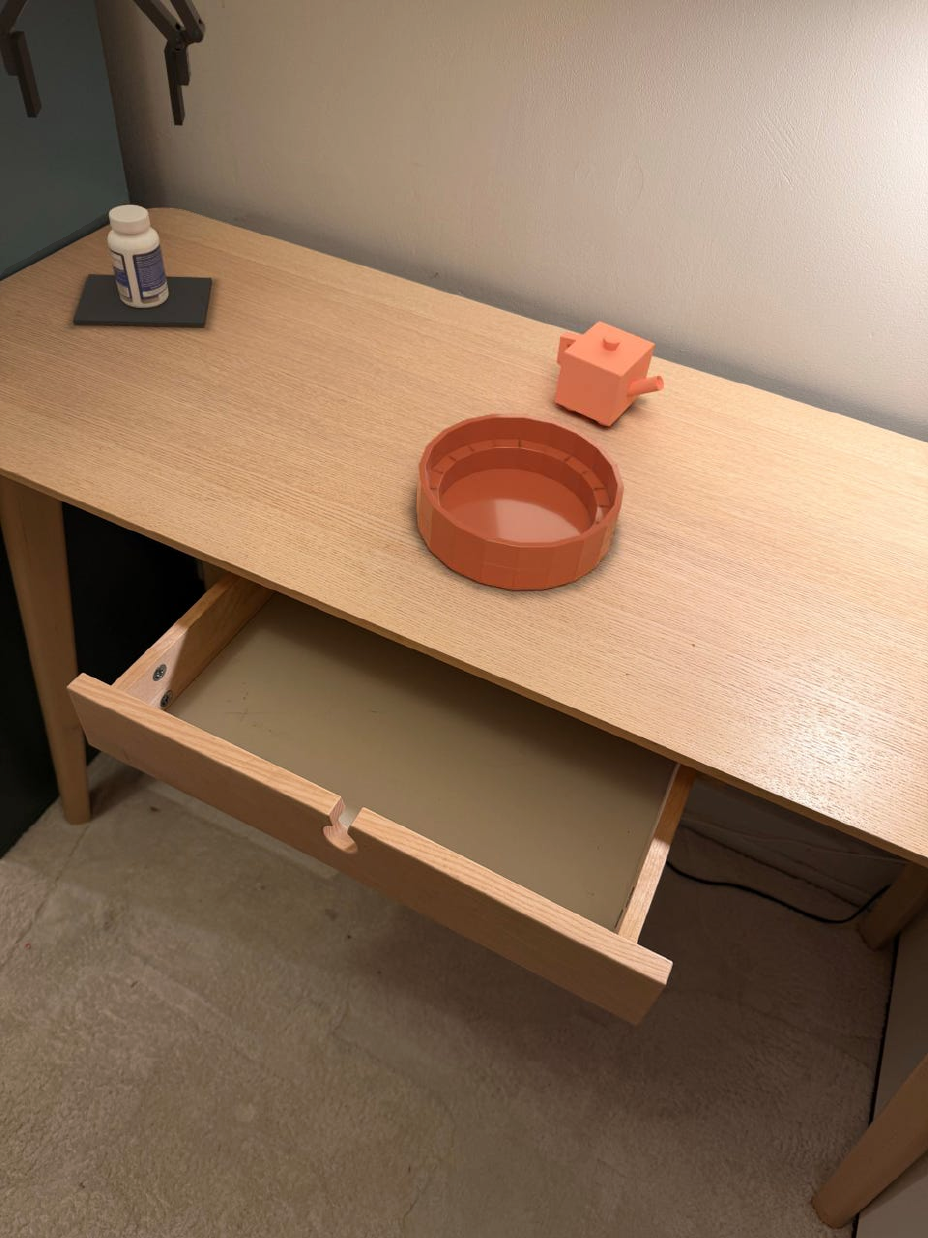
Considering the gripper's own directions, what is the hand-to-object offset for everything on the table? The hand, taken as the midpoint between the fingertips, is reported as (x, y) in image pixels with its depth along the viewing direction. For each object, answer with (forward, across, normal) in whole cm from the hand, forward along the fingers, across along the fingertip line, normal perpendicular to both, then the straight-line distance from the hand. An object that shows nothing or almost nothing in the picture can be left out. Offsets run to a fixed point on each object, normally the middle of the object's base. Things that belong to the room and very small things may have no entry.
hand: (108, 116), depth 89 cm
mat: (+20, 0, -1) cm, 20 cm away
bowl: (+20, -38, +36) cm, 56 cm away
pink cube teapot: (+20, -50, +18) cm, 57 cm away
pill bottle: (+20, 0, -1) cm, 20 cm away
